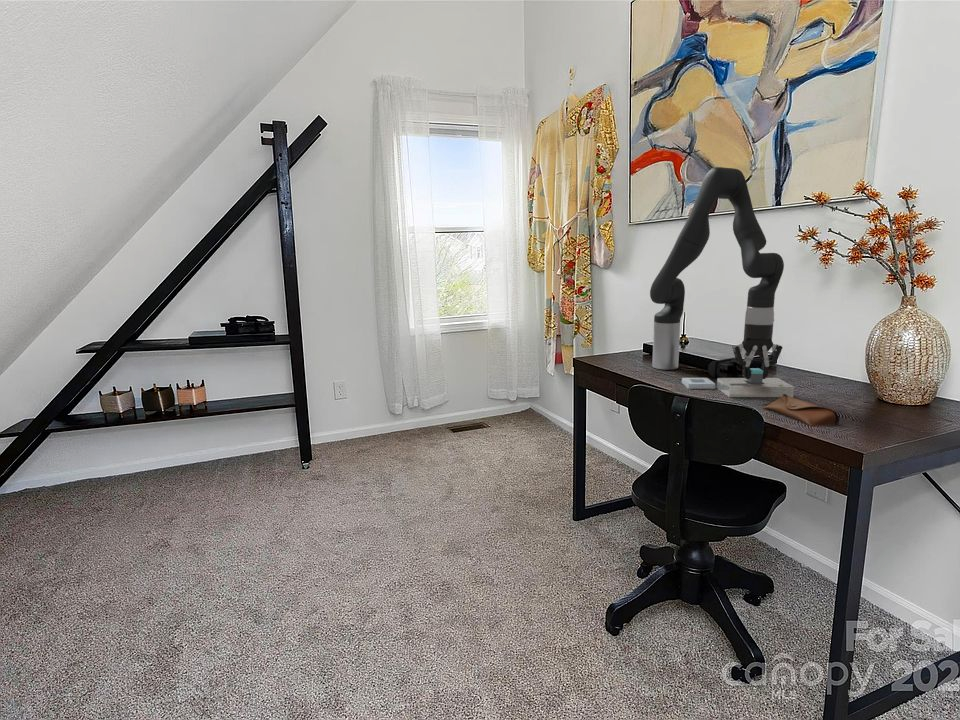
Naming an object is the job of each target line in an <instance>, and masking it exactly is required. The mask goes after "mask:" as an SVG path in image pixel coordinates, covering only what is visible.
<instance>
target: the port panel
mask: <svg viewBox="0 0 960 720" xmlns="http://www.w3.org/2000/svg"><path fill="white" fill-rule="evenodd" d="M716 378H717V379H716V388H717V389H718V390H719V391H721V392H722V393H723V394H724V395H726V396H728V397H729V398H780V397H782V396H783V394H786V395H788V396H790V397H793V398H794V393H795V386H794V385H791V384H789V383H788V382H786V381H784V380H782V379H781V378H779V377H766V379H763V380H762V384H748V383H747V379H745V378H744V377H732V378H720V377H716Z"/></svg>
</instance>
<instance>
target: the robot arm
mask: <svg viewBox="0 0 960 720" xmlns="http://www.w3.org/2000/svg"><path fill="white" fill-rule="evenodd" d="M717 199H722V200H728V201H729V202H730V204H731V206H732V207H733V209H734V217H733V221H732V231H733V234H734V237H735V240H736V241H737V243H738V246H739V248H740V253H741V254H740V255H741V256H740V257H741V264H742V270H743V271H744V274H746V276H747V277H749V278H751V279H760V278H761V279H760V282H759V283H758V284H757V285H754V286H752V287H750V288H749V289H748V292H747V302H746V309H745V310H746V311H745V317H744V329H743V340H742V342H741V343H740V344H733V345H732V346H731V348H732V351H733V354H734V358H735V359H736V362H737V363H738V364H740V365H742V366H743V367H742V366H741V367H742V370H743V373H742V375H743V376H742V377H743V378H745V379H749V376H750V368H751V366H750V365H751V363H752V361H753V360H754V357H759V358H760V362H761V366H760V369H761V370H763V379H766V378H768V377H769V376H768V375H769V367H770V366H774V365H776V364H777V361H778V359H779V358H780V355H781V352H782V350H783V346H782V345H780V344H778V343H777V344H774V342H773V330H774V322H775V310H774V309H775V308H774V307H775V296H776V291H777V289H778V287H779V284H780V282H781V281H780V280H781V278H782V275H783V272H784V267H785V264H784V263H785V262H784V260H783V257H782V256H781V255H780V254H779V253H776V252H763V253H762V252H760V251H761V250H763V249H764V248H765V246H766V244H767V239H766V236H765V233H764V231H763V229H762V228H761V226H760V223H759V221H758V220H757V217H756V214H755V210H754V207H753V203H752V200H751V195H750V193H749V188H748V183H747V180H746V178H745V175H744V173H743V171H741V170H740V169H738V168H734V167H733V168H732V167H722V166H716V167H715V166H714V167H713V168H710V169H709V170H708V172H707V173H706V174H705V176H704V178H703V180H702V182H701V185H700V187H699V190H698V193H697V196H696V198H695V201H694V204H693V206H692V208H691V211H690V212H689V215H688V217H687V219H686V221H685V223H684V225H683V227H682V229H681V231H680V232H679V234H678V236H677V239H676V241H675V243H674V245H673V247H672V249H671V251H670V253H669V256H668V257H667V259H666V260H665V263H664V264H663V266H662V267H661V269H660V270H659V272H658V274H657V275H656V277H655V279H654V280H653V282H652V283H651V286H650V290H649V296H650V300H651V301H652V302H653V303H654V304H656V305H657V304H658V305H664V306H663V308H662V309H661V310H660V311H657V313H655V314H654V315H653V316H654V317H653V341H652V343H653V344H652V363H651V364H652V366H651V367H652V368H653V369H657V370H669V371H670V370H677V369H679V356H680V338H681V337H680V336H681V335H680V334H681V319H682V316H683V313H684V308H685V307H684V305H685V298H686V297H685V296H686V291H685V290H686V289H685V284H684V282H683V280H682V279H681V278H678V276H679V275H680V274H681V273H682V272H683V271H684V270H685V269H686V268H688V267H689V266H690V265H691V264H692V263H694V262H695V261H696V260H697V259H698V258H699V256H700V255H701V254H702V252H703V251H704V249H705V247H706V245H707V243H708V241H709V238H710V236H711V235H710V234H711V233H710V232H711V231H710V221H709V220H710V219H709V218H710V217H709V216H710V213H711V210H712V208H713V206H714V203H715V202H716V200H717ZM743 350H744V351H745V353H744V355H742V351H743ZM770 350H771V354H770V356H769V353H768V352H770ZM743 357H744V358H743Z"/></svg>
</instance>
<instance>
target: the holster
mask: <svg viewBox="0 0 960 720" xmlns="http://www.w3.org/2000/svg"><path fill="white" fill-rule="evenodd" d="M681 383H682V384H683V386H685V387H686V388H687V389H688V390H691V389H692V390H693V389H694V390H695V389H696V390H698V389H699V390H700V389H701V390H703V389H704V390H706V389H707V390H708V389H709V390H710V389H712V390H714V389H716V383H715V382H714V381H712V380H711V379H710V378H708V377H681Z"/></svg>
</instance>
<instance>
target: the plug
mask: <svg viewBox="0 0 960 720" xmlns="http://www.w3.org/2000/svg"><path fill="white" fill-rule="evenodd" d="M762 380H763V370H761V367H760V368H759V367H755V368H754V367H752V368H751V367H750V376H749V379H747V383H748V384H762Z"/></svg>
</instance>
